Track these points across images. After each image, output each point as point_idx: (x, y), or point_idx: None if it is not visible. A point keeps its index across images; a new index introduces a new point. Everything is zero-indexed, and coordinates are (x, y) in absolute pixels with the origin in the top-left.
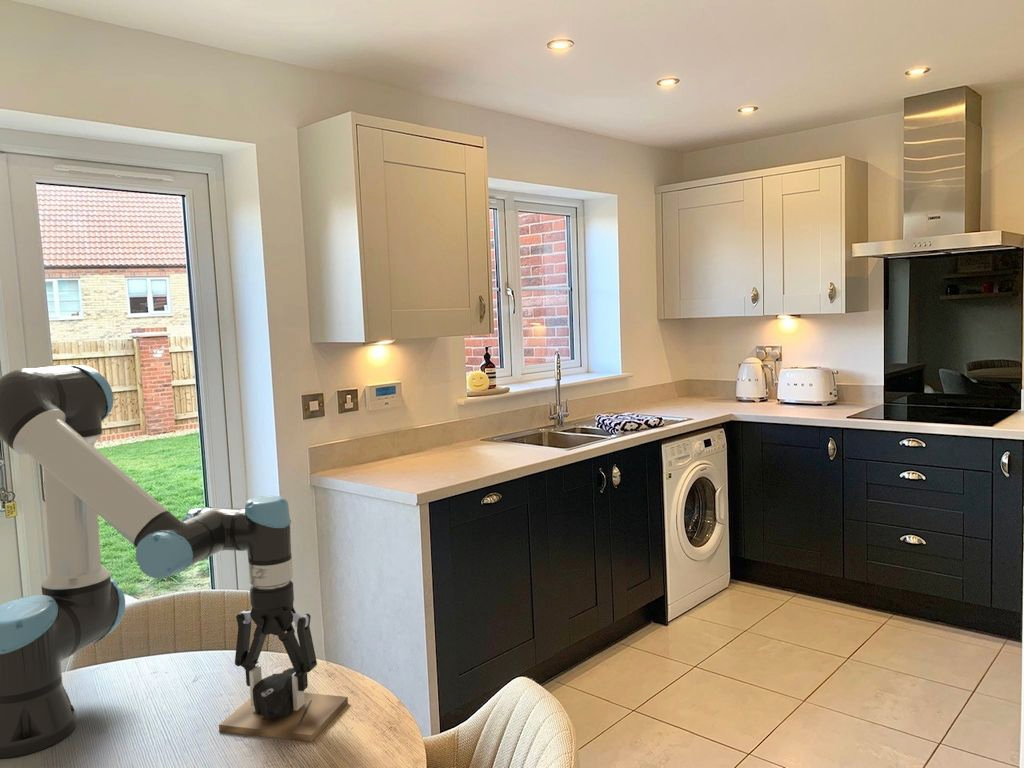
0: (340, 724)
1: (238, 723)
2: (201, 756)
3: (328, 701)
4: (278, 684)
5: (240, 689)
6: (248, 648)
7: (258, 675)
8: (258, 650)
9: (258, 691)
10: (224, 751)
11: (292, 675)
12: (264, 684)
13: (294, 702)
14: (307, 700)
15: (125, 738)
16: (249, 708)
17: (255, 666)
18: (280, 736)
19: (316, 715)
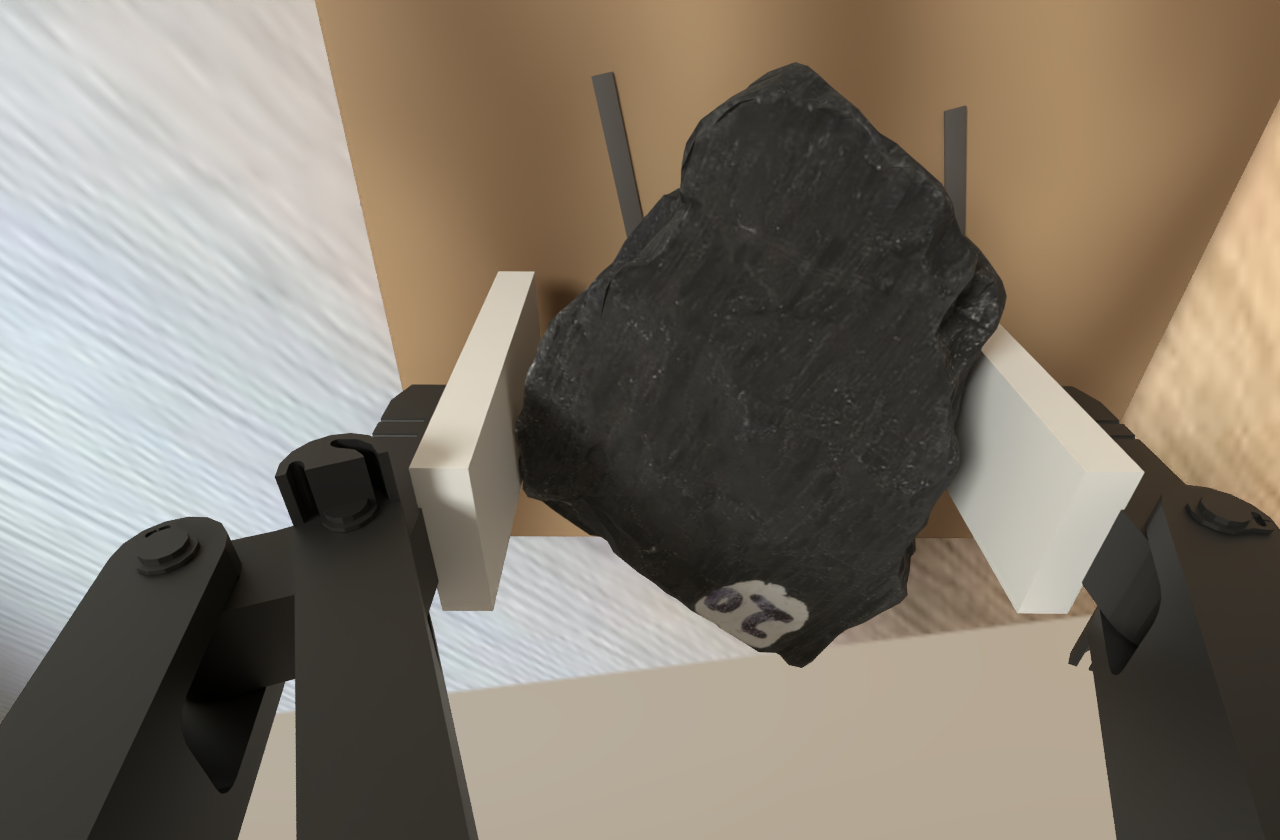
0: (1216, 315)
1: (546, 510)
2: (532, 666)
3: (1136, 91)
4: (831, 568)
5: None
6: (154, 718)
7: (497, 458)
8: (467, 808)
9: (640, 573)
10: (610, 629)
11: (1026, 612)
12: (641, 509)
13: None
14: (917, 112)
15: (36, 621)
16: None
17: (422, 514)
18: None
19: (1056, 339)
